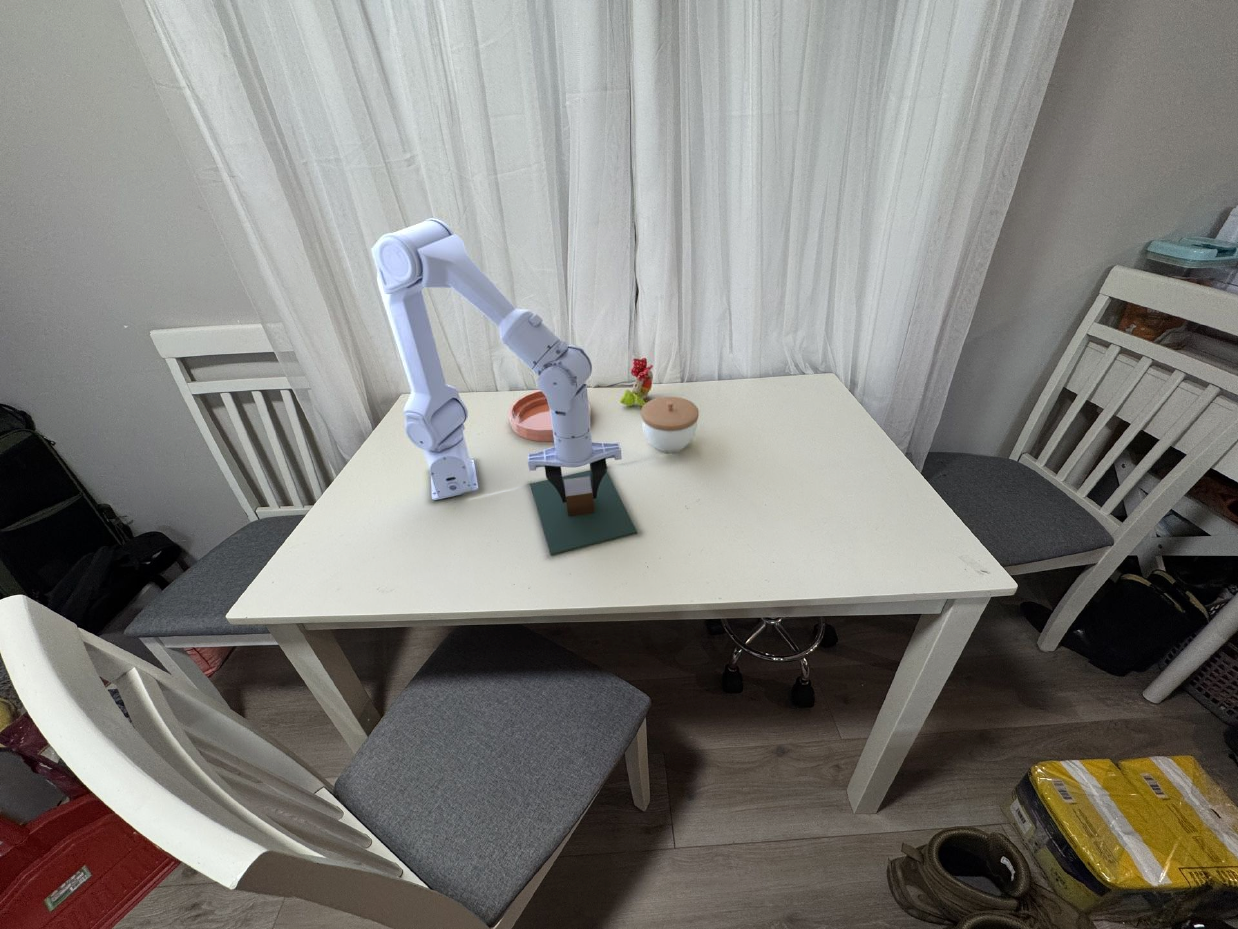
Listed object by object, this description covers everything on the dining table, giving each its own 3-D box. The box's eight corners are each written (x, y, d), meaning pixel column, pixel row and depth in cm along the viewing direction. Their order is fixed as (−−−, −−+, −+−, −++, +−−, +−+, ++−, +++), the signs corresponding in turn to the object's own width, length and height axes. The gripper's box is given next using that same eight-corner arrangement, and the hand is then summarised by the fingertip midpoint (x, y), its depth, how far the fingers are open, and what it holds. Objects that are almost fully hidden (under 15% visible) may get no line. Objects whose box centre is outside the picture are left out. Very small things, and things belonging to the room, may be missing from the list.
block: (594, 513, 86) (592, 492, 83) (568, 516, 85) (565, 496, 82) (591, 496, 89) (589, 476, 86) (566, 499, 89) (563, 479, 86)
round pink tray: (600, 433, 105) (599, 420, 103) (518, 450, 101) (515, 437, 100) (579, 395, 118) (578, 383, 116) (506, 409, 114) (504, 396, 112)
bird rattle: (630, 403, 118) (615, 407, 110) (638, 355, 115) (622, 355, 107) (656, 409, 116) (642, 413, 108) (664, 359, 113) (650, 360, 105)
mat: (637, 533, 82) (637, 531, 82) (550, 555, 79) (550, 553, 79) (605, 468, 96) (604, 466, 96) (530, 485, 93) (530, 483, 92)
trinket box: (689, 464, 96) (692, 422, 90) (634, 455, 99) (633, 413, 93) (701, 433, 104) (704, 392, 98) (650, 426, 107) (650, 385, 101)
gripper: (615, 409, 82) (618, 476, 90) (522, 419, 80) (534, 487, 88) (622, 433, 76) (625, 502, 84) (523, 445, 74) (536, 514, 83)
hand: (579, 496), depth 86 cm, fingers closed on block, 4 cm apart
